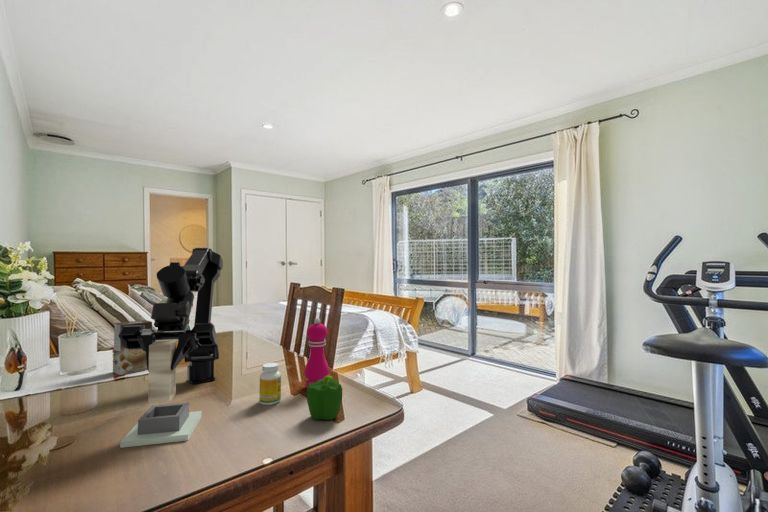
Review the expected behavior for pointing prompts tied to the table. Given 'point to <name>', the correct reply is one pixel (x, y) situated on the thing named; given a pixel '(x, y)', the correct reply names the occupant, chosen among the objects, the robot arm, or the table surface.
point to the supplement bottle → (270, 384)
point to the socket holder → (163, 425)
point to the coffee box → (128, 351)
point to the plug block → (161, 372)
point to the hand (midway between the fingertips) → (160, 369)
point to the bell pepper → (324, 398)
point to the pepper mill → (316, 353)
